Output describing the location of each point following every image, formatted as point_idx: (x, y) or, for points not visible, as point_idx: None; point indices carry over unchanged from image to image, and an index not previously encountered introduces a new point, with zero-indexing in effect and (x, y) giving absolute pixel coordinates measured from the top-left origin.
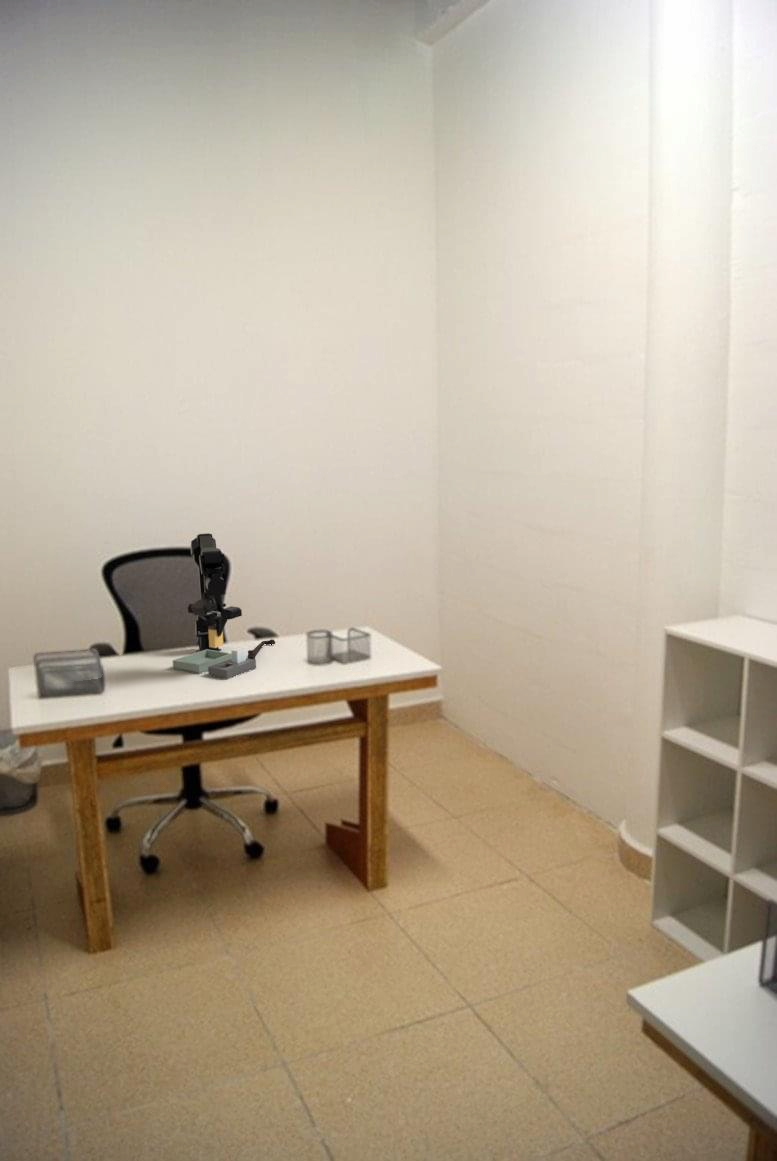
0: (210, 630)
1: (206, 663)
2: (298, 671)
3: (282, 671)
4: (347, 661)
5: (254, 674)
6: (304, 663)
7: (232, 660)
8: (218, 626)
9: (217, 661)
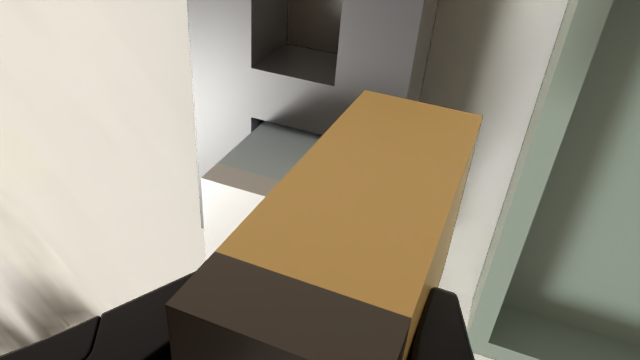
0: (346, 278)
1: (564, 41)
2: (24, 189)
3: (78, 172)
4: (4, 342)
5: (155, 72)
6: (101, 308)
7: (308, 145)
8: (76, 336)
9: (514, 183)
